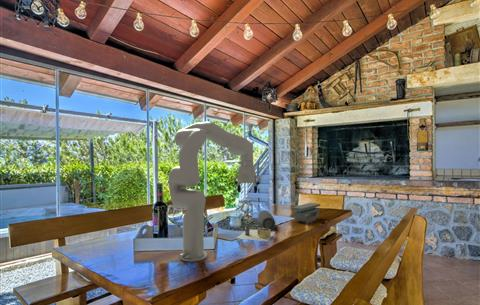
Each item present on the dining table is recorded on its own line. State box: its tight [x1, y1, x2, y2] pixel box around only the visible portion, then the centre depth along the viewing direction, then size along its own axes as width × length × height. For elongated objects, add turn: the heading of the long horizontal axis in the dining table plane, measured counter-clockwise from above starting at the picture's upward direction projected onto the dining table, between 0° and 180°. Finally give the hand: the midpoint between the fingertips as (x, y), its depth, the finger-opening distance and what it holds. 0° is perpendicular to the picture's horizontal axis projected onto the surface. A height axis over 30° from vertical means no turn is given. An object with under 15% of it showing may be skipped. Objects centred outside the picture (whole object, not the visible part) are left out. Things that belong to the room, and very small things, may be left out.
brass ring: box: [257, 227, 272, 239], centre depth 162 cm, size 7×7×4 cm
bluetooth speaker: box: [257, 210, 276, 231], centre depth 187 cm, size 23×9×10 cm, turn 2°
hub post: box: [244, 225, 250, 236], centre depth 166 cm, size 3×3×5 cm
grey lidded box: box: [291, 202, 321, 224], centre depth 206 cm, size 25×8×11 cm, turn 135°
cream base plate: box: [236, 227, 276, 242], centre depth 166 cm, size 20×18×6 cm
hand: (247, 192), depth 170 cm, fingers open, 9 cm apart
